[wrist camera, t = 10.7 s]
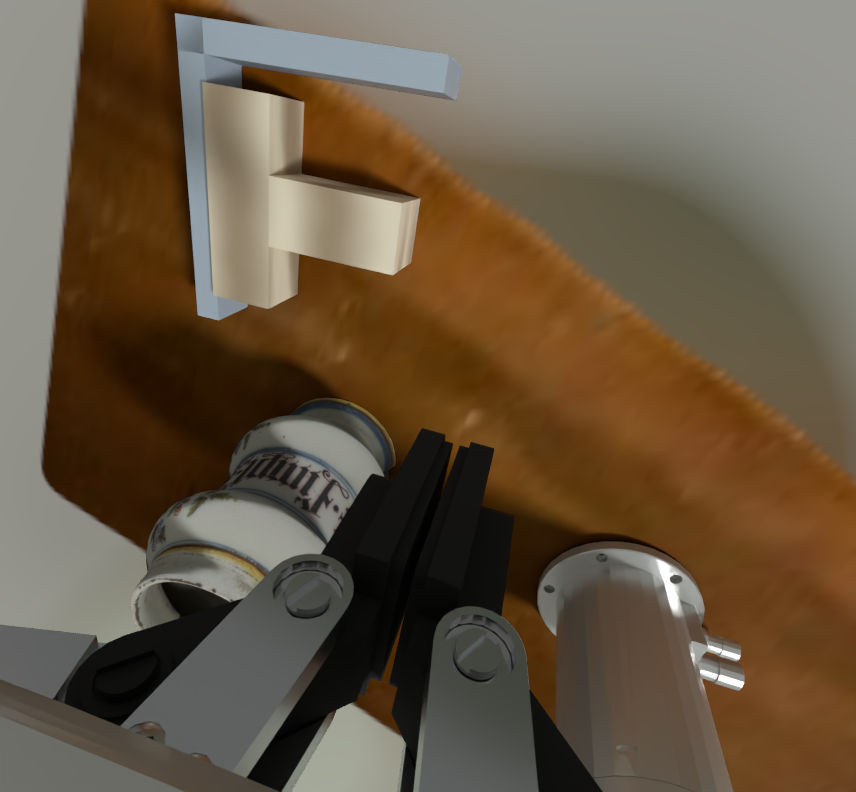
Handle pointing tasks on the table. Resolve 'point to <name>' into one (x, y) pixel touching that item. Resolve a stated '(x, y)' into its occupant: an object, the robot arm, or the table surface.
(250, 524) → the apothecary jar
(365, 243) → the t block
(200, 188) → the fence
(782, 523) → the table surface
